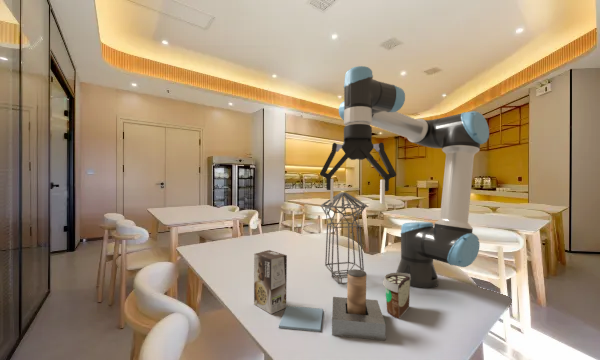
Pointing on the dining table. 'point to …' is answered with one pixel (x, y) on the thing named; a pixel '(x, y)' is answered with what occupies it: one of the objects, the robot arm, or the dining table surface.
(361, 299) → the wooden cylinder
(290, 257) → the dining table surface
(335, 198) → the geometric lantern
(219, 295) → the dining table surface
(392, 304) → the food container
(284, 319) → the light blue square plate
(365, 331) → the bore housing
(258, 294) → the coffee box
